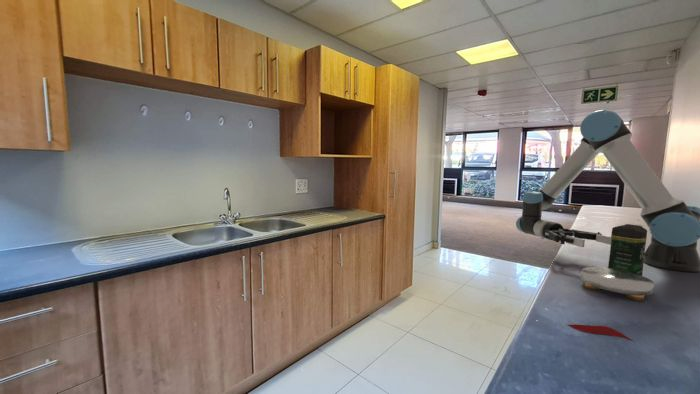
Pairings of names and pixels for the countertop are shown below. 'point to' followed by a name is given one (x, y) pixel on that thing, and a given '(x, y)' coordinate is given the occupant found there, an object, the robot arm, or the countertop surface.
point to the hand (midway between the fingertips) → (599, 242)
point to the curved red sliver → (599, 330)
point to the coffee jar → (628, 248)
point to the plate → (617, 282)
